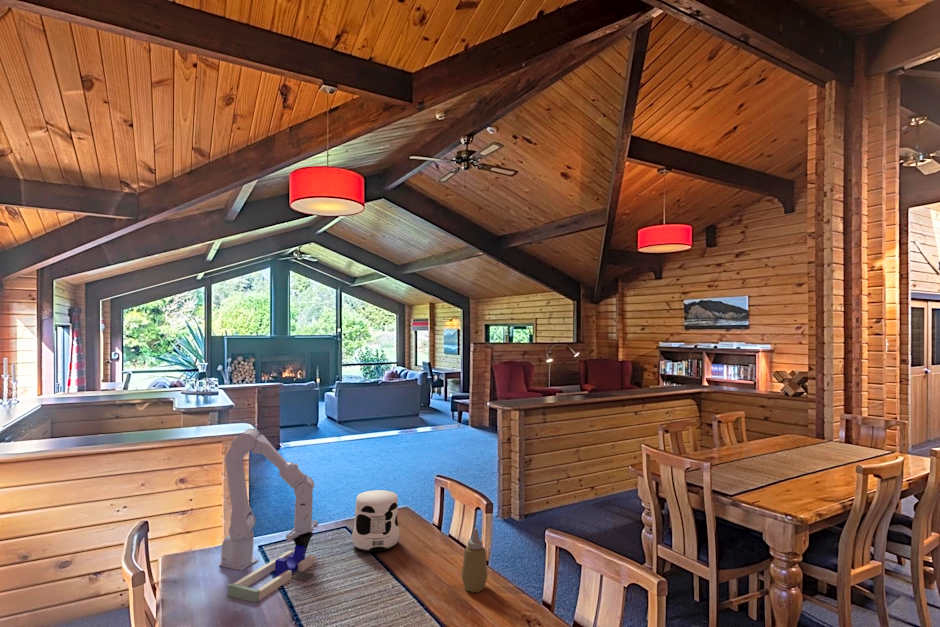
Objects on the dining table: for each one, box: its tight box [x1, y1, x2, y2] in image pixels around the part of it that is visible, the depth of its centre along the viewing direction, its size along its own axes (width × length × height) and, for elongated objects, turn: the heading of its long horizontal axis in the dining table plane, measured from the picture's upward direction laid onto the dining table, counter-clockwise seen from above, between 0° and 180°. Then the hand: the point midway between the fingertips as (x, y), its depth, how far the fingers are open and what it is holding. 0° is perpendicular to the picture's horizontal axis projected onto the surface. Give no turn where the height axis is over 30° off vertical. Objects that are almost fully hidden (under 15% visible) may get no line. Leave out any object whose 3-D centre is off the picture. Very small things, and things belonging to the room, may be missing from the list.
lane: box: [226, 550, 316, 603], centre depth 155 cm, size 10×27×3 cm, turn 161°
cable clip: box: [274, 545, 306, 578], centre depth 160 cm, size 12×4×6 cm, turn 166°
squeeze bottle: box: [461, 528, 488, 593], centre depth 152 cm, size 8×8×18 cm
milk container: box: [351, 489, 400, 553], centre depth 181 cm, size 17×17×18 cm
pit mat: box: [290, 571, 315, 583], centre depth 156 cm, size 5×5×1 cm
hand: (301, 555), depth 167 cm, fingers closed
